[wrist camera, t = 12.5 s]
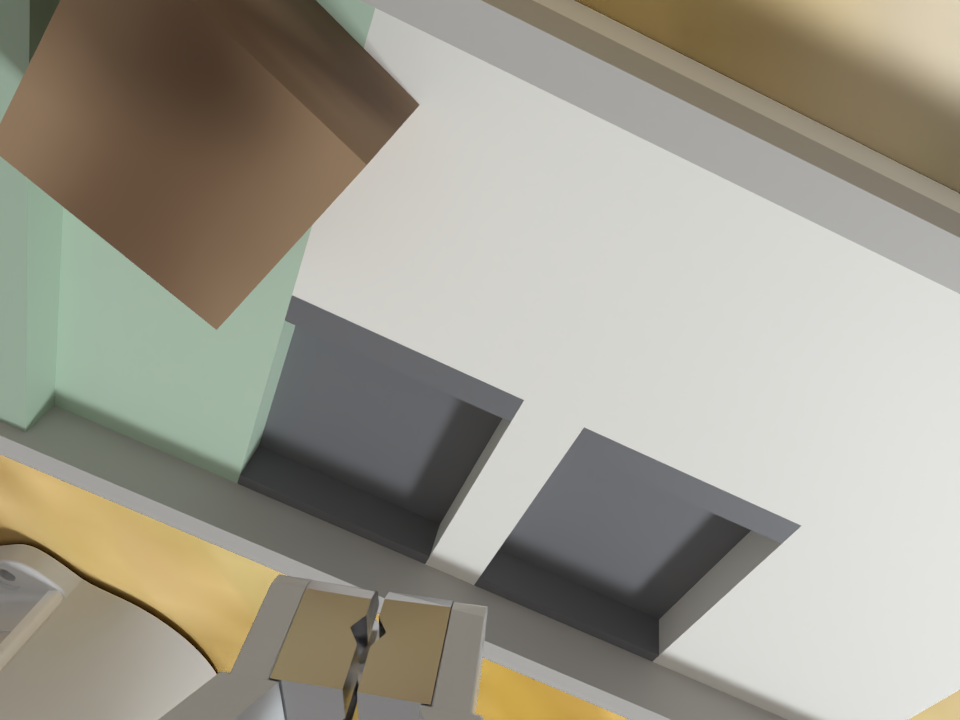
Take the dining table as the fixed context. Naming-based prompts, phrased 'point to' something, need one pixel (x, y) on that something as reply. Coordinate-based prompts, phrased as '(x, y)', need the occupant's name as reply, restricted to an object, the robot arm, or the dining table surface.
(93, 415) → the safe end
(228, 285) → the block
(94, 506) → the dining table surface
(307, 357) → the white board with recesses
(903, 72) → the dining table surface
